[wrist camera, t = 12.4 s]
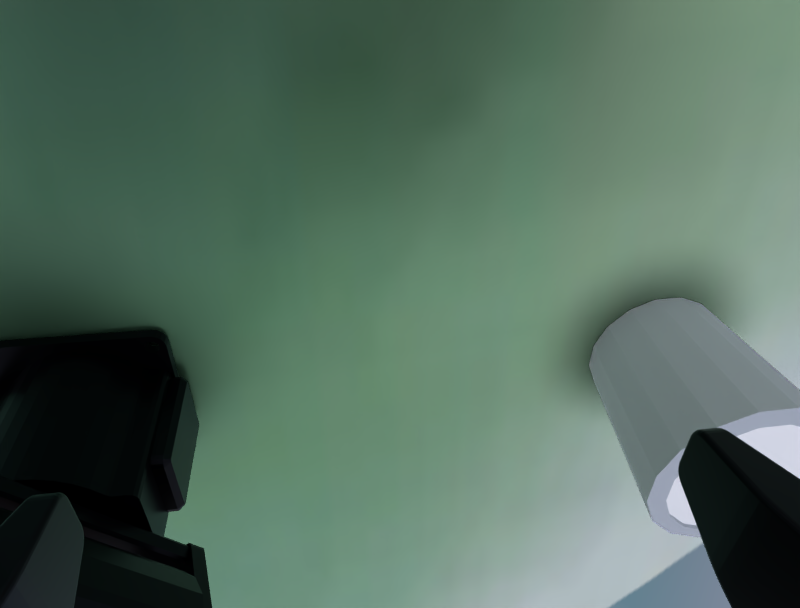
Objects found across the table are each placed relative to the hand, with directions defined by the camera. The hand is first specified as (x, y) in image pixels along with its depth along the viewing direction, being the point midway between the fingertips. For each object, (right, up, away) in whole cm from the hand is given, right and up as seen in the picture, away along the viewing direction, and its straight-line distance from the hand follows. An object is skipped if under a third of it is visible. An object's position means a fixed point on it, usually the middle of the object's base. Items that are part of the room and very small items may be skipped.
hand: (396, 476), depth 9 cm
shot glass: (+11, +1, +18) cm, 21 cm away
